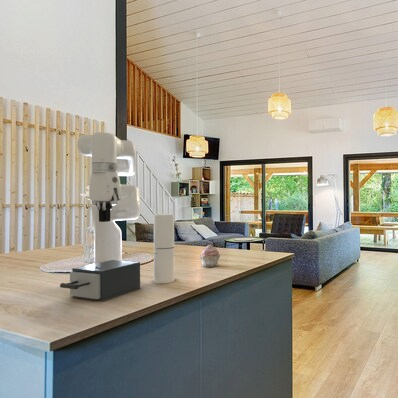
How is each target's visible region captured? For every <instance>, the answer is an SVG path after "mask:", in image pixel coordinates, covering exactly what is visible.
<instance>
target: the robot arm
mask: <svg viewBox="0 0 398 398" xmlns="http://www.w3.org/2000/svg"><path fill="white" fill-rule="evenodd" d="M76 146H77V150H78V153H79V154H80V155H81V156H83V157H91V159H90V160H91V173H90V178H89V190H88V193H89V194H88V195H89V199H90V201H91V207H90V208H91V213H92V214H91V215H92V221H93V237H94V239H93V241H94V242H93V243H94V244H93V245H94V246H93V247H94V250H93V251H94V256H93V257H94V258H93V259H94V264H96V263H100V262H105V261H110V260H120V261H123V250H122V249H123V243H122V237H123V236H122V234H123V233H122V229H121V228H120V226H119V225H118V224H117V223H116V222H117V221H131V220H132V221H133V220H137V219H139V217H140V216H141V212H142V206H141V194H140V190H139V188H138V186H136V185H135V184H123V183H122V184H121V178H120V177H132V176H134V175H135V174H136V172H137V149H136V146H135V144H134V142H133V141H131V140H125V139H120V138H119V137H117V136H116V135H115V134H113V133H111V132H104V131H103V132H101V131H97V132H93V133H92V134H81V135H80V136H79V137H78V139H77V145H76ZM115 221H116V222H115Z"/></svg>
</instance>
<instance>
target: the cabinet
mask: <svg viewBox="0 0 398 398" xmlns="http://www.w3.org/2000/svg"><path fill="white" fill-rule="evenodd" d="M71 270H72V271H71V272H73V271H74V272H88V273H98V274H100V298H99V299H92V298H85V297H77V296H72V298H75V299H83V300H91V301H98V302H105V301H107V300H110V299H113V298H116V297H119V296H121V295H125V294H128V293H131V292H133V291H137V290H139V289H141V262H140V261H133V260H131V261H130V260H122V261H120V260H110V261H105V262H100V263H96V264H95V263H92V264H91V263H90V264H86V265H82V266H78V267H77V266H76V267H72V268H71Z"/></svg>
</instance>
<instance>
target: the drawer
mask: <svg viewBox="0 0 398 398" xmlns="http://www.w3.org/2000/svg"><path fill="white" fill-rule="evenodd" d="M59 288H62V289H68V290H69V296H71V297H73V296H77V297H85V298H92V299H99V298H100V274H98V273H88V272H74V271H73V272H72V271H70V272H69V282H61V283H60V284H59Z"/></svg>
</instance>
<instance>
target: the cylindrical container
mask: <svg viewBox="0 0 398 398" xmlns="http://www.w3.org/2000/svg"><path fill="white" fill-rule="evenodd" d="M174 281H175V214H174V213H155V214H153V283H154V284H168V283H172V282H174Z"/></svg>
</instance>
